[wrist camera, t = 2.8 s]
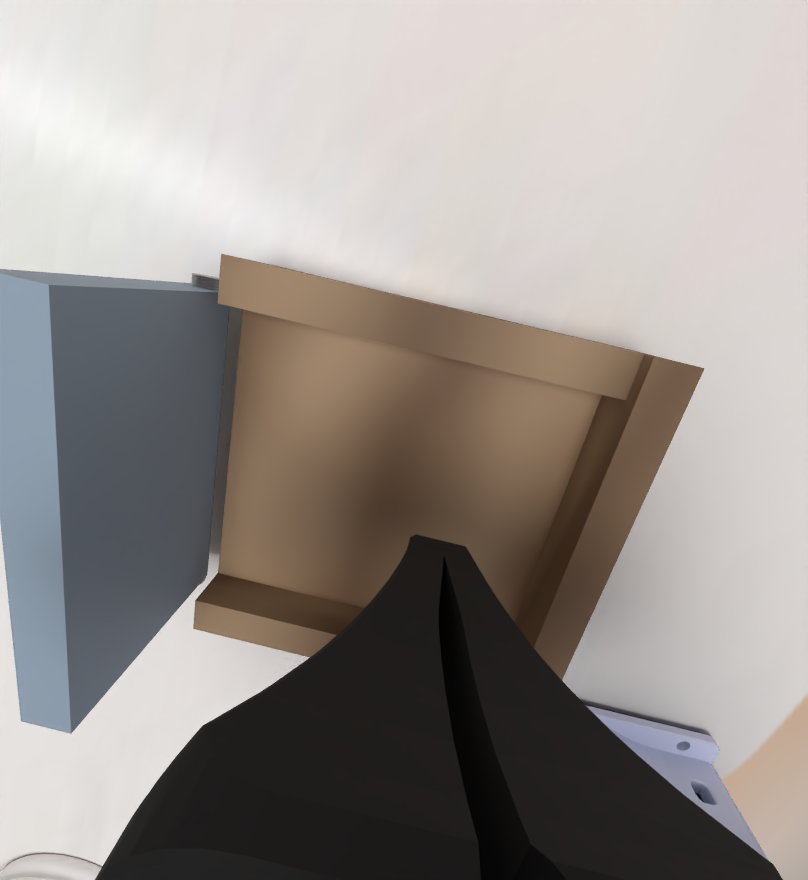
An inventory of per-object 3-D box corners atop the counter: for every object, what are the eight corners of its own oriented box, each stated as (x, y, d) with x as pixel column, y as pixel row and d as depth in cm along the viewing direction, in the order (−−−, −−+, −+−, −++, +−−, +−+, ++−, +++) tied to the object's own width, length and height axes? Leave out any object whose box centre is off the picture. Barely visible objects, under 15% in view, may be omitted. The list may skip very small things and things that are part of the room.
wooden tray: (638, 352, 13) (704, 368, 10) (520, 644, 17) (540, 727, 14) (268, 264, 13) (211, 251, 10) (234, 574, 17) (185, 639, 14)
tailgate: (239, 283, 13) (47, 264, 6) (213, 573, 16) (71, 742, 10) (200, 273, 13) (-28, 246, 6) (183, 565, 16) (22, 730, 10)
